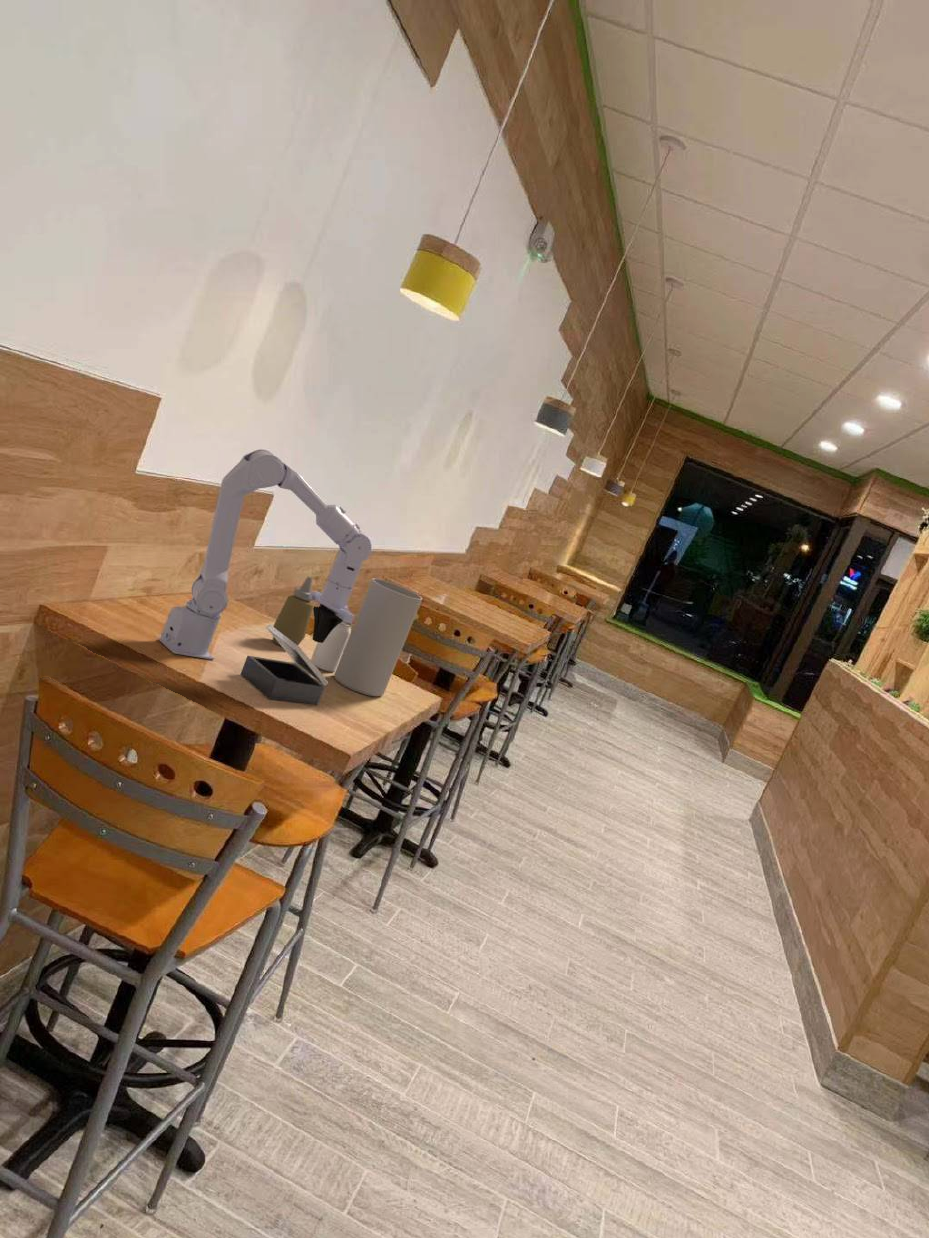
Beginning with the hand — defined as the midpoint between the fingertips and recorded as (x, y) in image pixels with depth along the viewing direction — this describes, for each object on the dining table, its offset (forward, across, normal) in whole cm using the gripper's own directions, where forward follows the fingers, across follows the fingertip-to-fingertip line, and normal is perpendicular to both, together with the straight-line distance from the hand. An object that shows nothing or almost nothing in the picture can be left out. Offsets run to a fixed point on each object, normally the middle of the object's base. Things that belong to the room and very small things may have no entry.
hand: (317, 641), depth 199 cm
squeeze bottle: (+10, +25, -11) cm, 29 cm away
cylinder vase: (+10, +2, -18) cm, 21 cm away
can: (+10, +12, -15) cm, 22 cm away
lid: (+2, -7, +10) cm, 12 cm away
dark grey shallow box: (+10, -7, +11) cm, 16 cm away
